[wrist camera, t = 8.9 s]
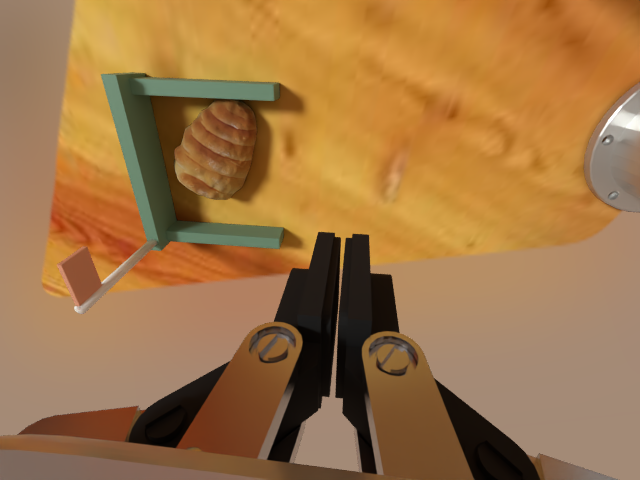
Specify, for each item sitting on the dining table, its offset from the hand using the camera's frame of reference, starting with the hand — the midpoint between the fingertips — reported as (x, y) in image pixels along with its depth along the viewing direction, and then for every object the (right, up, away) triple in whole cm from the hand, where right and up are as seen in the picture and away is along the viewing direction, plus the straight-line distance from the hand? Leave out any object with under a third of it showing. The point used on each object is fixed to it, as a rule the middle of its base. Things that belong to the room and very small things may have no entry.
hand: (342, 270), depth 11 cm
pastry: (-11, +10, +20) cm, 25 cm away
